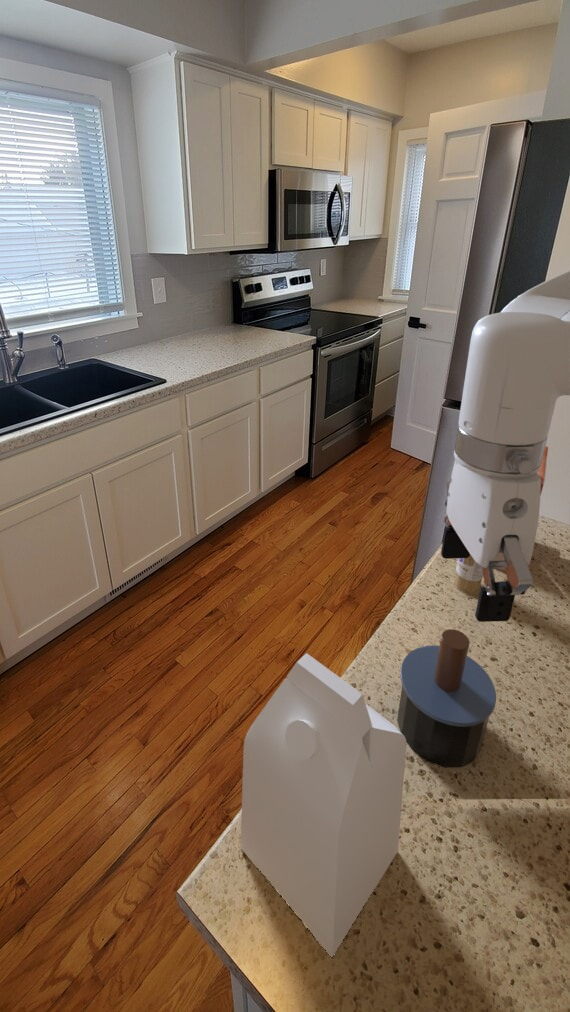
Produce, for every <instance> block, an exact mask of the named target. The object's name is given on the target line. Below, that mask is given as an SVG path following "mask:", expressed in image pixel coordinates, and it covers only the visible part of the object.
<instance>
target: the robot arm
mask: <svg viewBox="0 0 570 1012" xmlns="http://www.w3.org/2000/svg"><path fill="white" fill-rule="evenodd" d="M563 396H570V270H568V271H565V272H562V273H560V274H557V275H555V276H553V277H552V278H549V279H547V280H545V281H543V282H541V283H539V284H537V285H536V286H533V287H531V288H530V289H528V290H526V291H524V292H523V293H521V294H520V295H518V296H516V297H515V298H514V299H513V300H511V301H510V302H509V303H508V304H507V305H505V307H503V309H502V310H501V311H500V312H495V313H491V314H488V315H485V316H484V317H482V318H480V319H479V320H478V321H477V322H476V323H475V325H474V327H473V329H472V332H471V336H470V342H469V348H468V355H467V362H466V368H465V375H464V383H463V390H462V397H461V403H460V409H459V415H458V416H459V417H458V424H457V429H456V436H455V443H454V450H453V458H454V463H453V468H452V472H451V476H450V480H447V481H446V493H447V494H446V495H447V498H446V500H445V502H444V505H445V507H446V516H444V518H443V519H444V521H443V523H444V525H445V528H444V530H443V538H442V542H441V543H442V544H441V551H440V555H441V557H442V558H443V559H445V560H449V559H450V560H451V559H452V560H453V559H458V558H468V557H469V556H470V555H471V556H472V557H473V559H474V560H475V561H476V562H477V563H478V564H479V565H480V566H482V569H483V580H484V586H482V587H480V591H479V592H478V599H477V605H476V609H475V614H474V617H475V618H476V620H477V622H479V623H485V622H487V623H488V622H507V621H509V620H510V618H511V614H512V610H513V605H514V602H515V597H516V596H521V595H525V594H526V592H527V591H528V590H529V589H530V588H531V587H532V586H533V584H534V579H533V576H532V573H531V570H530V568H529V565H530V563H531V560H532V557H533V552H534V547H535V542H536V537H537V531H538V524H539V518H540V517H539V515H540V505H541V496H540V477H539V475H538V474H537V472H538V471H539V470H540V467H541V462H542V458H543V454H544V450H545V446H547V445H546V444H547V441H548V437H549V433H550V427H551V425H552V420H553V416H554V415H553V414H554V411H555V406H556V402H557V400H558V398H560V397H563ZM498 553H503V556H504V559H505V561H493V560H494V559H495V557H496V556H497V555H498ZM494 567H505V570H506V571H505V575H506V580H501V581H496V579H495V571H494V569H495V568H494Z"/></svg>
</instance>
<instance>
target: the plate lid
mask: <svg viewBox="0 0 570 1012" xmlns="http://www.w3.org/2000/svg"><path fill="white" fill-rule="evenodd" d="M469 648H470V639H469V637H467V635H466V634H465V633H463V632H462V631H460V630H458V629H455V628H454V629H453V628H449V629H446V630H444V631H443V632H442V633H441V637H440V642H439V645H425V646H420V647H417V648H415V649H413V650H412V651H410V652H409V653H408V654H407V655H406V656H405V657H404V659H403V661H402V663H401V667H400V675H399V676H400V682H401V687H402V686H403V688H404V691H405V692H406V694H407V696H408V697H409V699H410V700H411V701H412V702H413V704H414V705H415V706H416V707H417V708H418V709H420V710H421V711H422V712H423V713H425V714H426V715H428V716H429V717H431V718H433V719H435V720H437V721H439V722H442V723H444V724H448V725H452V726H459V727H468V726H474V725H477V724H480V723H482V722H484V721H485V720H486V719H488V718H489V719H490V717H491V715H492V714H493V712H494V710H495V707H496V703H497V692H496V688H495V685H494V683H493V680H492V679H491V677H490V675H489V674H488V673H487V671H486V670H485V669H484V668H483V667H482V666H481V665H480V664H479V663H478V662H477V661H475V660H474V659H473V658H471V657H470V656H468V652H469Z"/></svg>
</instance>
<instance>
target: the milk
mask: <svg viewBox="0 0 570 1012" xmlns="http://www.w3.org/2000/svg"><path fill="white" fill-rule="evenodd" d="M406 755H407V742H406V739H405V736H404V735H403V734H402V733H401V732H400V729H398V727H396V726H395V724H394V723H392V722H391V721H389V720H388V719H387V718H385V717H384V716H382V715H381V714H380V713H378V712H377V711H376V710H375V709H373V708H372V707H370V706H369V705H368V704H366V701H365V698H364V695H363V693H362V692H360V691H359V690H358V689H357V688H355V687H354V686H352V685H351V684H349V683H348V682H347V681H346V680H344V679H342V678H341V677H340V676H339V675H337V674H336V673H334V672H333V671H332V670H330V669H329V668H328V667H326V666H325V665H323V664H322V663H321V662H319V660H317V659H315V658H314V657H313V656H311V655H310V654H308V653H307V652H306V653H305V654H304V655H303V656H301V657H300V658H299V659H298V660H297V661H296V662H295V664H294V665H293V667H292V668H291V669H290V671H289V672H288V674H287V675H286V678H284V679H283V681H282V682H281V683H280V685H279V686H278V687H277V689H276V690H275V692H274V693H273V694H272V696H271V697H270V699H268V701H267V703H266V704H265V706H264V707H263V708H262V709H261V711H260V713H259V714H258V715H257V716H256V718H255V719H254V721H253V723H252V724H251V725H250V727H249V729H248V731H247V732H246V735H245V737H244V741H243V755H242V757H243V758H242V762H243V763H242V787H241V815H240V818H241V819H240V846H239V847H240V849H241V851H242V852H243V853H244V854H245V855H246V857H247V858H248V859H249V860H250V862H251V863H252V864H253V865H254V867H255V868H256V869H257V868H258V869H259V870H258V869H257V870H258V872H260V871H261V872H260V874H261V873H262V874H263V875H264V876H265V877H266V878H267V879H268V880H269V881H270V882H271V884H272V885H273V886H274V887H275V888H276V889H277V890H278V892H279V893H280V894H281V896H283V898H284V899H285V901H287V903H288V904H289V905H290V906H291V908H292V909H293V910H294V911H295V912H296V913H297V914H298V916H299V917H300V918H301V920H302V921H303V923H305V925H306V926H307V927H308V929H309V930H310V931H311V933H312V934H313V936H314V937H315V938H316V939H315V938H314V937H313V936H312V937H313V938H314V939H315V941H316V942H317V941H318V942H319V943H318V942H317V943H318V944H319V945H320V944H321V945H320V947H321V946H322V947H323V948H324V949H325V950H326V951H325V950H324V949H323V948H322V947H321V948H322V949H323V950H324V951H325V953H326V952H328V954H330V956H331V957H333V955H334V954H335V952H336V951H337V952H338V950H339V949H338V947H339V946H340V944H341V943H342V944H343V942H344V941H343V939H344V938H345V939H346V937H347V936H348V934H349V932H350V931H349V929H350V928H351V926H352V924H353V923H354V921H355V920H356V921H357V919H358V918H357V916H358V914H359V913H360V911H361V909H362V908H363V906H364V905H365V903H366V902H367V903H368V901H369V900H368V898H369V897H370V898H371V896H372V895H373V893H374V892H375V890H376V888H377V887H378V885H379V883H380V882H381V880H382V879H383V877H384V875H385V874H386V872H387V871H388V869H389V867H390V865H391V864H392V862H393V860H394V859H395V857H396V855H397V854H398V852H399V842H400V841H399V840H400V831H401V830H400V828H401V818H402V817H401V816H402V815H401V814H402V804H403V793H404V792H403V791H404V779H405V768H406V767H405V766H406ZM262 874H261V875H262ZM263 875H262V876H263ZM264 876H263V877H264ZM265 877H264V878H265ZM266 878H265V879H266ZM376 886H377V887H376ZM374 889H375V890H374ZM372 892H373V893H372ZM371 894H372V895H371ZM370 895H371V896H370ZM370 898H369V899H370ZM367 900H368V901H367ZM367 903H366V904H367ZM365 906H366V905H365ZM365 906H364V907H365ZM363 909H364V908H363ZM363 909H362V910H363ZM361 912H362V911H361ZM360 914H361V913H360ZM360 914H359V915H360ZM358 917H359V916H358ZM356 918H357V919H356ZM356 921H355V922H356ZM303 923H302V924H303ZM354 924H355V923H354ZM354 924H353V925H354ZM352 927H353V926H352ZM351 929H352V928H351ZM351 929H350V930H351ZM348 931H349V932H348ZM311 933H310V934H311ZM347 933H348V934H347ZM312 934H311V935H312ZM346 935H347V936H346ZM345 936H346V937H345ZM345 939H344V940H345ZM342 941H343V942H342ZM342 944H341V945H342ZM340 947H341V946H340ZM340 947H339V948H340ZM337 949H338V950H337ZM337 952H336V953H337ZM328 954H327V955H328ZM335 955H336V954H335ZM335 955H334V956H335ZM330 956H329V957H330ZM331 957H330V958H331ZM333 958H334V957H333Z"/></svg>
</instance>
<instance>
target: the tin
mask: <svg viewBox="0 0 570 1012" xmlns="http://www.w3.org/2000/svg"><path fill="white" fill-rule="evenodd" d="M489 719H490V717H489V718H488V719H486V720H485V721H484V722H482V723H480V724H477V725H474V726H468V727H459V726H452V725H448V724H444V723H442V722H439V721H437V720H435V719H433V718H431V717H429V716H428V715H426V714H425V713H423V712H422V711H421V710H420V709H418V708H417V707H416V706H415V705H414V704H413V702H412V701H411V700H410V699H409V697H408V696H407V694H406V692H405V691H404V688H403V686H402V685H401V691H400V699H399V706H398V712H397V718H396V720H397V724H398V728H399V731H400V732H401V733H402V734H403V735H404V736H405V739H406V745H408V746H409V748H410V749H411V751H413V752H414V753H415V754H416V755H418V756H419V757H421V758H422V759H423V760H424V761H426V762H428V763H430V764H433V765H436V766H438V767H441V768H445V769H446V768H448V769H449V768H451V769H452V768H456V769H458V768H459V769H460V768H463V767H465V766H467V765H470V763H473V762H474V761H475V760H476V758H477V757H478V755H479V753H480V752H481V750H482V746H483V742H484V738H485V735H486V731H487V727H488V724H489Z"/></svg>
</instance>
